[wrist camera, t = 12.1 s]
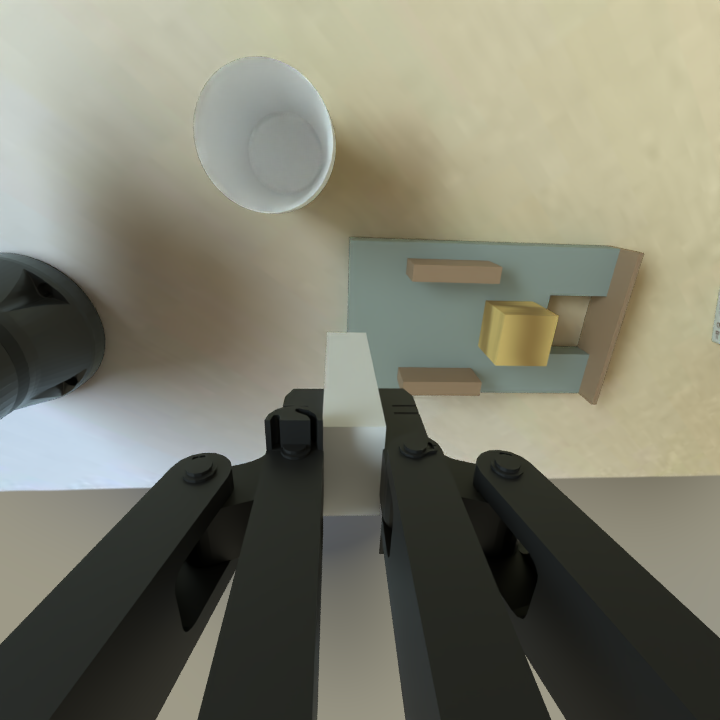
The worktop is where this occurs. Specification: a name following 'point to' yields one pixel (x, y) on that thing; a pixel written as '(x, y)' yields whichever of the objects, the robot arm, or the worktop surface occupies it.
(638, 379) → the worktop surface
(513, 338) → the ochre block
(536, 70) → the worktop surface
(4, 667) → the robot arm
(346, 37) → the worktop surface
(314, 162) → the cup
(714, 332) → the supplement box
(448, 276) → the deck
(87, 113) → the worktop surface
